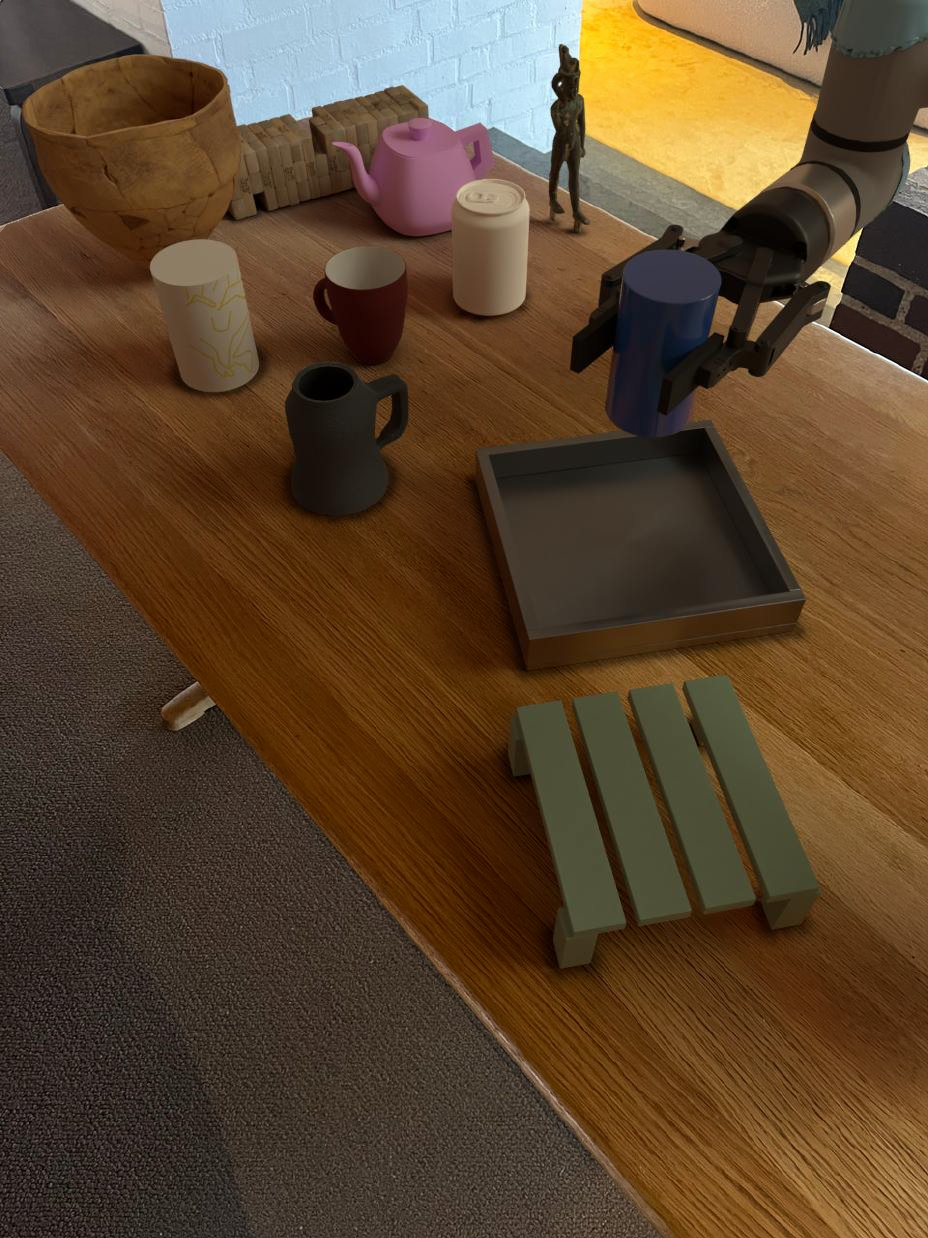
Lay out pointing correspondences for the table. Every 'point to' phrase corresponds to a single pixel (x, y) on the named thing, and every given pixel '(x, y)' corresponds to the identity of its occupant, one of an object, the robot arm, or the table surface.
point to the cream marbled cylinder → (206, 314)
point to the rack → (635, 818)
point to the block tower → (315, 149)
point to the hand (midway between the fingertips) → (619, 375)
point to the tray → (631, 546)
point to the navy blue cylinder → (658, 336)
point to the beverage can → (490, 246)
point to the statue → (567, 135)
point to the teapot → (419, 173)
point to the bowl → (139, 149)
